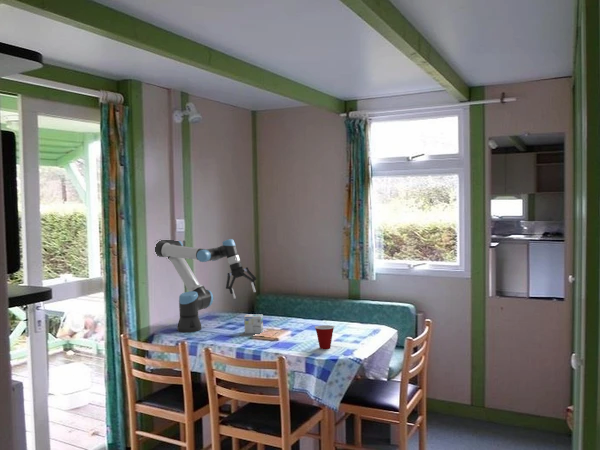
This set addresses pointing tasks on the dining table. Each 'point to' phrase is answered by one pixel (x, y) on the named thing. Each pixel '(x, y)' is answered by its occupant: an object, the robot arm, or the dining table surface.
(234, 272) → the robot arm
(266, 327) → the dining table surface
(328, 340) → the plastic cup
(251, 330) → the light bulb box
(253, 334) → the tile
